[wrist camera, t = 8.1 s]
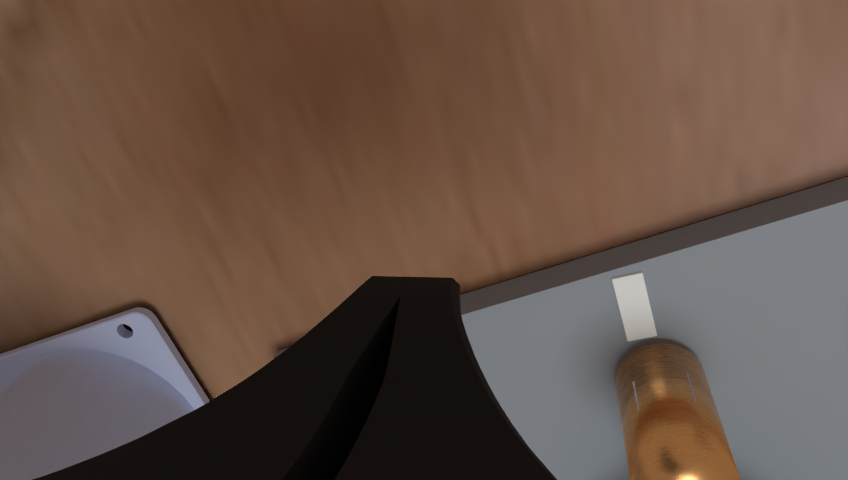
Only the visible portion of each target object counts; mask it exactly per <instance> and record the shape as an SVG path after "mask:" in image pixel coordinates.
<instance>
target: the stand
mask: <svg viewBox="0 0 848 480" xmlns="http://www.w3.org/2000/svg"><path fill="white" fill-rule="evenodd" d="M460 301H461V316H462V320H463V324H464V327H465V331H466V333H467V336H468V339H469V341H470V344H471V347H472V349H473V352H474V355H475V357H476V359H477V362H478V364H479V366H480V368H481V370H482V372H483V374H484V376H485V378H486V380H487V382H488V384H489V386H490V388H491V390H492V392H493V394H494V395H495V397H496V399H497V401H498V402H499V404H500V406H501V407H502V409H503V410H504V412H505V413H506V415H507V417H508V418H509V420H510V421H511V423H512V424H513V426H514V427H515V428H516V430H517V431H518V433H519V434H520V435H521V437H522V438H523V440H524V441H525V442H526V444H527V445H528V446H529V448H530V449H531V450H532V451H533V452H534V453H535V455H536V456H537V457H538V458H539V459H540V460H541V462H542V463H543V464H544V465H545V466H546V467H547V468H548V470H549V471H550V472H551V473H552V474H553V475H554V477H555V478H556V479H557V480H630V474H629V468H628V462H627V455H626V449H625V443H624V436H623V430H622V424H621V417H620V411H619V404H618V398H617V392H616V385H615V376H616V372H617V369H618V367H619V365H620V363H621V362H622V361H623V360H624V358H625V357H626V356H628V355H629V354H630V353H632V352H633V351H635V350H637V349H639V348H641V347H644V346H647V345H651V344H672V345H676V346H679V347H682V348H684V349H686V350H688V351H690V352H691V353H692V354H694V355H695V356H696V357H697V358H698V360H699V361H700V363H701V364H702V366H703V369H704V372H705V375H706V378H707V381H708V384H709V387H710V390H711V393H712V396H713V399H714V402H715V405H716V408H717V411H718V414H719V417H720V420H721V423H722V426H723V429H724V432H725V435H726V438H727V441H728V444H729V447H730V450H731V453H732V456H733V459H734V462H735V465H736V468H737V471H738V474H739V477H740V480H848V177H845V178H841V179H838V180H835V181H832V182H828V183H825V184H822V185H819V186H815V187H812V188H809V189H805V190H802V191H799V192H796V193H792V194H789V195H786V196H783V197H779V198H776V199H773V200H769V201H766V202H763V203H760V204H756V205H753V206H750V207H747V208H743V209H740V210H737V211H733V212H730V213H727V214H724V215H720V216H717V217H714V218H710V219H707V220H704V221H701V222H697V223H694V224H691V225H688V226H684V227H681V228H678V229H674V230H671V231H668V232H665V233H661V234H658V235H655V236H652V237H648V238H645V239H642V240H638V241H635V242H632V243H629V244H625V245H622V246H619V247H615V248H612V249H609V250H606V251H602V252H599V253H596V254H593V255H589V256H586V257H583V258H579V259H576V260H573V261H570V262H566V263H563V264H560V265H557V266H553V267H550V268H547V269H543V270H540V271H537V272H534V273H530V274H527V275H524V276H520V277H517V278H514V279H511V280H507V281H504V282H501V283H498V284H494V285H491V286H488V287H484V288H481V289H478V290H475V291H471V292H468V293H465V294H462V295H460ZM288 348H289V347H288ZM288 348H285V349H281V350H278V352H277V354H276V356H275V358H276V357H277V356H278V355H280V354H281V353H282V352H284V351H285V350H286V349H288ZM275 358H274V359H275Z"/></svg>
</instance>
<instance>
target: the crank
mask: <svg viewBox="0 0 848 480" xmlns="http://www.w3.org/2000/svg"><path fill="white" fill-rule="evenodd" d="M615 385H616V392H617V398H618V404H619V411H620V417H621V424H622V430H623V436H624V443H625V449H626V455H627V462H628V468H629V474H630V480H740V477H739V474H738V471H737V468H736V465H735V462H734V459H733V456H732V453H731V450H730V447H729V444H728V441H727V438H726V435H725V432H724V429H723V426H722V423H721V420H720V417H719V414H718V411H717V408H716V405H715V402H714V399H713V396H712V393H711V390H710V387H709V384H708V381H707V378H706V375H705V372H704V369H703V366H702V364H701V363H700V361H699V360H698V358H697V357H696V356H695V355H694V354H692V353H691V352H690V351H688V350H686V349H684V348H682V347H679V346H676V345H672V344H651V345H647V346H644V347H641V348H639V349H637V350H635V351H633V352H632V353H630V354H629V355H628V356H626V357H625V358H624V360H623V361H622V362H621V363H620V365H619V367H618V369H617V372H616V376H615Z"/></svg>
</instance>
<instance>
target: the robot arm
mask: <svg viewBox="0 0 848 480" xmlns="http://www.w3.org/2000/svg"><path fill="white" fill-rule="evenodd" d="M123 324H126V325H128V326H130V327H131V328H132V330H133V331H129V330H127V329H126V328H125V327H124V326H123ZM0 480H557V479H556V478H555V477H554V475H553V474H552V473H551V472H550V471H549V470H548V468H547V467H546V466H545V465H544V464H543V463H542V462H541V460H540V459H539V458H538V457H537V456H536V455H535V453H534V452H533V451H532V450H531V449H530V448H529V446H528V445H527V444H526V442H525V441H524V440H523V438H522V437H521V435H520V434H519V433H518V431H517V430H516V428H515V427H514V426H513V424H512V423H511V421H510V420H509V418H508V417H507V415H506V413H505V412H504V410H503V409H502V407H501V406H500V404H499V402H498V401H497V399H496V397H495V395H494V394H493V392H492V390H491V388H490V386H489V384H488V382H487V380H486V378H485V376H484V374H483V372H482V370H481V368H480V366H479V364H478V362H477V359H476V357H475V355H474V352H473V349H472V347H471V344H470V341H469V339H468V336H467V333H466V331H465V327H464V324H463V320H462V316H461V301H460V285H459V284H458V283H457V282H456V281H455V280H454V279H453V278H432V277H384V276H372V277H371V278H370V279H368V280H367V281H366V282H365V283H364V284H362V285H361V286H360V287H359V288H358V289H357V290H356V291H355V292H354V293H353V294H351V295H350V296H349V297H348V298H347V299H346V300H345V301H344V302H343V303H341V304H340V305H339V306H338V307H337V308H336V309H335V310H334V311H333V312H331V313H330V314H329V315H328V316H327V317H326V318H324V319H323V320H322V321H321V322H320V323H319V324H317V325H316V326H315V327H314V328H313V329H312V330H311V331H309V332H308V333H307V334H306V335H305V336H303V337H302V338H301V339H299V340H298V341H297V342H296V343H294V344H293V345H292V346H290V347H289V348H288V349H286V350H285V351H284V352H282V353H281V354H280V355H278V356H277V357H276V358H275V359H273V360H272V361H271V362H269V363H268V364H267V365H265V366H264V367H263V368H261V369H260V370H258V371H257V372H256V373H254V374H253V375H251V376H250V377H248V378H247V379H245V380H244V381H242V382H241V383H239V384H238V385H236V386H234V387H233V388H231V389H229V390H228V391H226V392H225V393H223V394H221V395H220V396H218V397H216V398H215V399H213V400H211V401H209V399H208V397H207V396H206V394H205V393H204V391H203V390H202V388H201V386H200V385H199V383H198V382H197V380H196V378H195V377H194V375H193V374H192V372H191V371H190V369H189V367H188V366H187V364H186V363H185V361H184V360H183V358H182V356H181V355H180V353H179V352H178V350H177V349H176V347H175V345H174V344H173V342H172V341H171V339H170V338H169V336H168V334H167V333H166V331H165V330H164V328H163V327H162V325H161V323H160V322H159V320H158V319H157V317H156V316H155V315H154V314H153V312H151V311H150V310H148V309H146V308H142V307H137V308H133V309H130V310H127V311H124V312H121V313H118V314H115V315H112V316H109V317H106V318H104V319H101V320H98V321H95V322H92V323H89V324H86V325H83V326H80V327H77V328H74V329H71V330H69V331H66V332H63V333H60V334H57V335H54V336H51V337H48V338H45V339H42V340H39V341H36V342H34V343H31V344H28V345H25V346H22V347H19V348H16V349H13V350H10V351H7V352H4V353H1V354H0Z"/></svg>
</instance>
